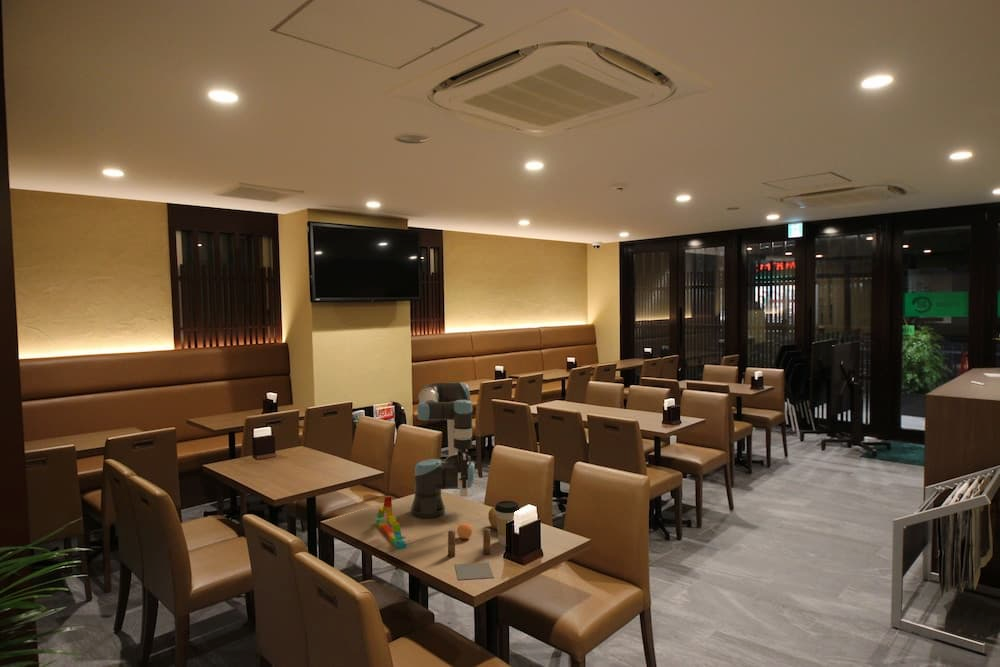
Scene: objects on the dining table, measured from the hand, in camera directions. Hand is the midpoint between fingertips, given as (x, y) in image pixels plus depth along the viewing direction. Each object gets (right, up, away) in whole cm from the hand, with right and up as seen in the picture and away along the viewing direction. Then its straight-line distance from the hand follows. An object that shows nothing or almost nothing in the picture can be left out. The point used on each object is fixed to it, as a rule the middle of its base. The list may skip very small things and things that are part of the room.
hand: (462, 491), depth 241 cm
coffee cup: (+18, -17, -12) cm, 27 cm away
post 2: (+11, -17, -24) cm, 31 cm away
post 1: (-2, -17, -26) cm, 31 cm away
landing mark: (+6, -17, -38) cm, 43 cm away
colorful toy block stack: (-28, -16, -6) cm, 33 cm away
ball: (+1, -13, -9) cm, 16 cm away
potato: (+16, -16, +2) cm, 23 cm away
